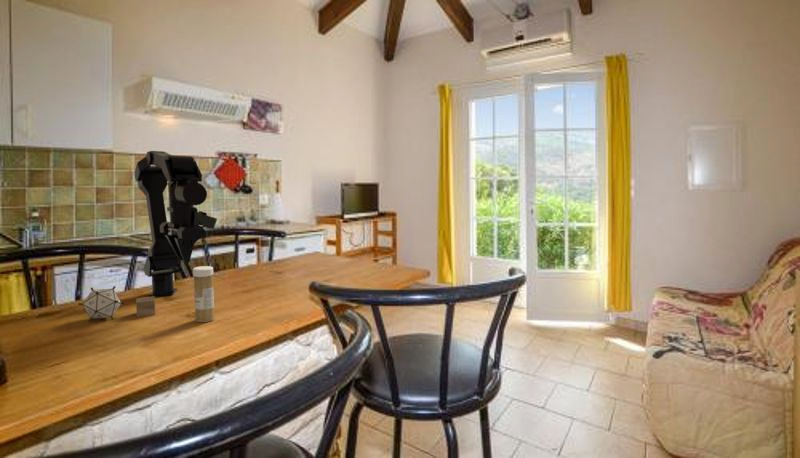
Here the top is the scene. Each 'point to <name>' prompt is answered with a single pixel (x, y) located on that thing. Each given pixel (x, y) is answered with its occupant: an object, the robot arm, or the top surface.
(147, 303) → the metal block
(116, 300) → the game die
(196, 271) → the sprinkles bottle
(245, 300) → the top surface
